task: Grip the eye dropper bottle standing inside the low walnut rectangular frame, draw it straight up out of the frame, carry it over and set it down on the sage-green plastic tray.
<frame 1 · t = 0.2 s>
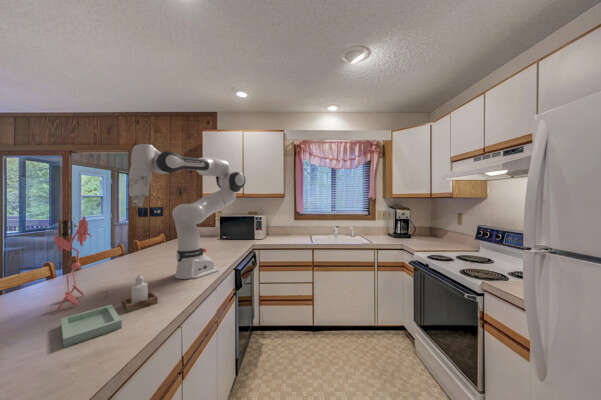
hand: (137, 206, 108), 39 cm above the countertop, tool pointing down, fingers open, 8 cm apart
figurine: (85, 301, 94), on the countertop
walnut rectangular frame: (139, 304, 90), on the countertop
eye dropper bottle: (139, 305, 90), resting in walnut rectangular frame
tray: (90, 326, 74), on the countertop
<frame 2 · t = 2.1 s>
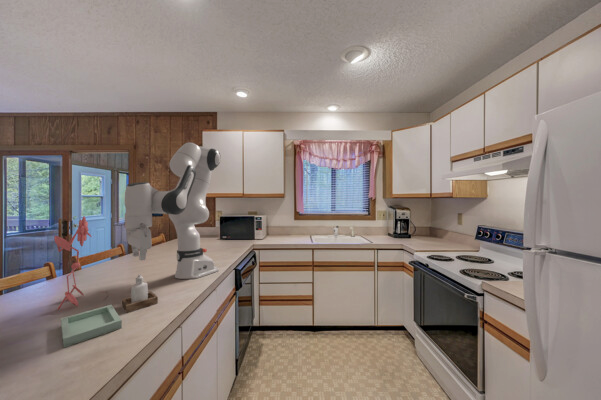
hand: (139, 258, 90), 18 cm above the countertop, tool pointing down, fingers open, 8 cm apart
nothing on the countertop moved.
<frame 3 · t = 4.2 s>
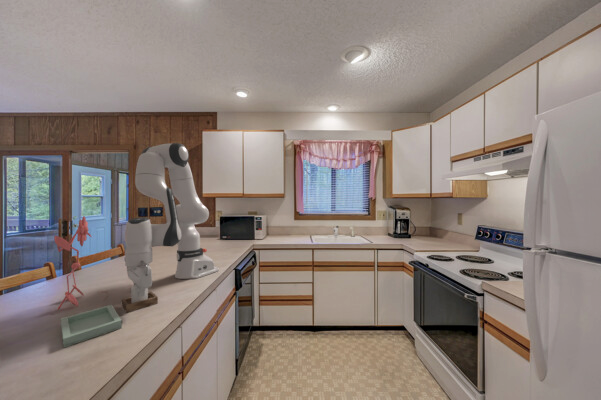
hand: (139, 294, 90), 4 cm above the countertop, tool pointing down, fingers closed on eye dropper bottle, 4 cm apart
eye dropper bottle: (139, 305, 90), resting in walnut rectangular frame, touching gripper
everything else where it was.
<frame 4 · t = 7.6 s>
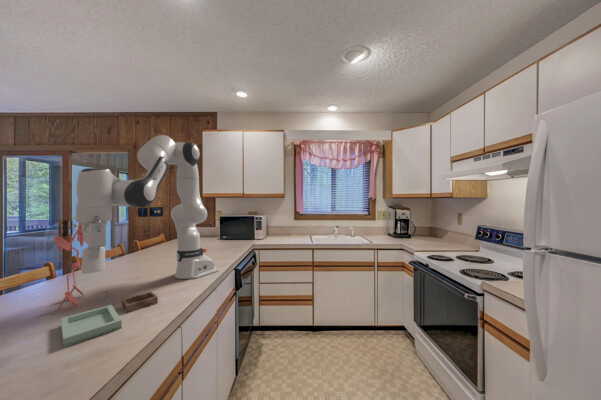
hand: (93, 258, 75), 22 cm above the countertop, tool pointing down, fingers closed on eye dropper bottle, 4 cm apart
eye dropper bottle: (93, 272, 75), point 18 cm above the countertop, touching gripper
everything else where it was.
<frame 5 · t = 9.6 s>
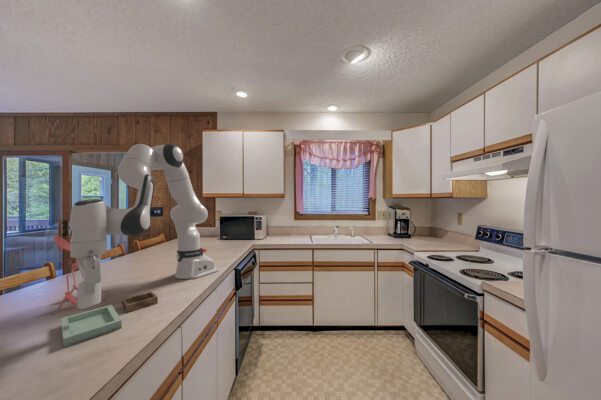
hand: (89, 291, 74), 12 cm above the countertop, tool pointing down, fingers closed on eye dropper bottle, 4 cm apart
eye dropper bottle: (89, 306, 74), point 7 cm above the countertop, touching gripper
everything else where it was.
when the fingers open (6 cm above the countertop, at t = 11.1 s): eye dropper bottle moves 2 cm, resting on tray.
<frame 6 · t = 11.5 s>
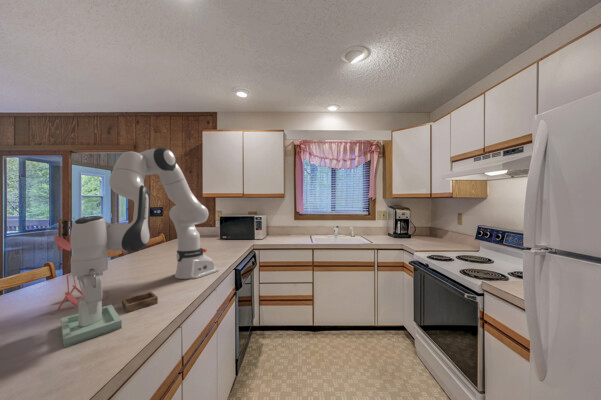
hand: (90, 308, 74), 6 cm above the countertop, tool pointing down, fingers open, 8 cm apart
eye dropper bottle: (90, 323, 75), point 1 cm above the countertop, touching tray
everything else where it was.
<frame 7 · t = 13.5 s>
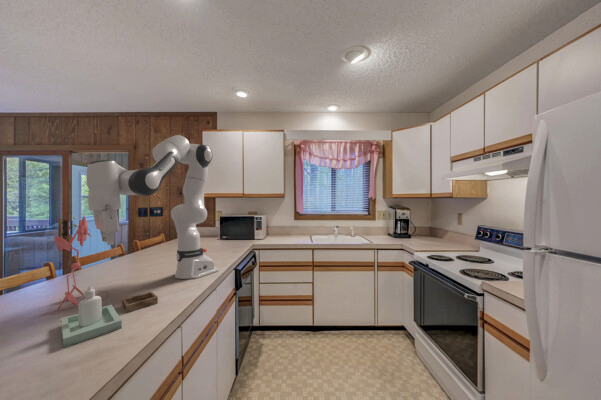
hand: (107, 243, 83), 26 cm above the countertop, tool pointing down, fingers open, 8 cm apart
nothing on the countertop moved.
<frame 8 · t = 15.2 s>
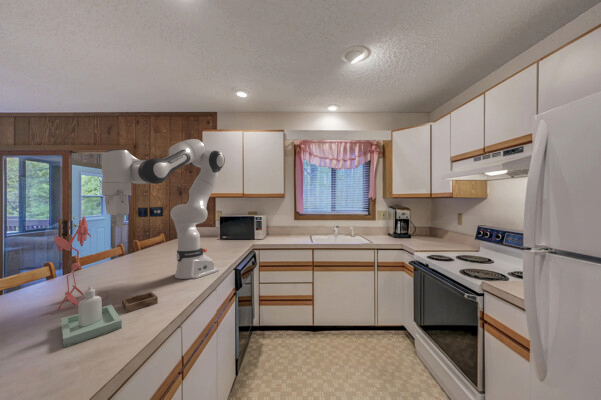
hand: (117, 226, 88), 31 cm above the countertop, tool pointing down, fingers open, 8 cm apart
nothing on the countertop moved.
at the end: eye dropper bottle inside the target area on the tray (1.6 cm from its centre), point 0.6 cm above the tray's base; the gripper is holding nothing; eye dropper bottle touching tray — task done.
